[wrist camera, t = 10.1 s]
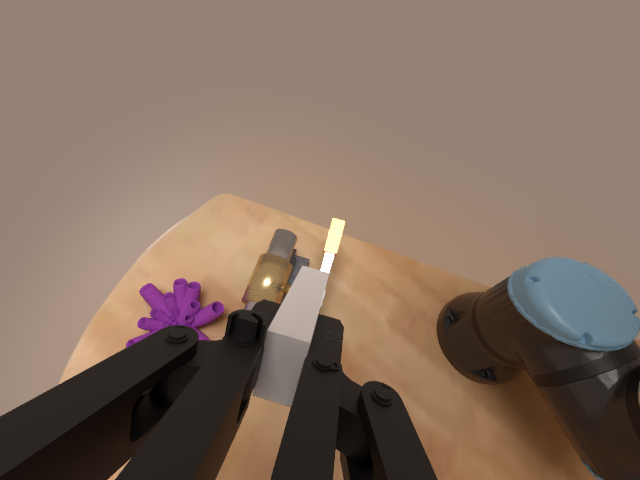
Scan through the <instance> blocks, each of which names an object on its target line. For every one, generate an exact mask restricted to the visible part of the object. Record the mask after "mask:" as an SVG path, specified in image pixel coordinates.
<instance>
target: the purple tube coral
mask: <svg viewBox="0 0 640 480" xmlns="http://www.w3.org/2000/svg"><path fill="white" fill-rule="evenodd" d="M173 289H174V294H173V293H171V292H168V293H166V294H164V295H163V294H162V293H161V292H160V291H159V290H158V289H157V288H156V287H155V286H154V285H153V284H151V283H149V284H146V285H145V286H143V287H142V288H141V289H140V291H139V292H140V294H141V296H142V297H143V298H144V300H145V301H146V302H147V303H148V304H149V305H150V307H151V308H152V310H151V312H150V316H151V317H152V318H146V317H143V318H141V319H140V320H139V321H138V324H137V325H138V327H139V328H141V329H144V330H148V331H151V332H149V333H147V334H144V335H141V336H139V337H136V338H133V339H130V340H129V341H128V342H127V344H126V348H127V347H129V346H131V345H133V344H135V343H136V342H138V341H140V340H142V339H144V338H146V337H147V336H149V335H151V334H153V333H155V332H157V331H159V330H160V329H162V328H165V327H168V326H173V325H185V326H188V327H191V328H193V329H194V330H196V331H197V333H198V335H199V339H198V340H208V341H210V340H209V339H208V337H206V336H205V335H204V334H203V333H202V332H200V331H199V330H198V329H196V327H200V326H202V325H205V324H208V323H210V322H212V321H214V320H215V319H217V318H218V317H219V316H220V315H221V314H222V313H223V312H224V306H223V304H222V303H221V302H218V301H217V302H213V303H211V304H210V305H208V306H206V307H204V308H202V309H200V307H201V304H200V302H199V301H198V300H199V297H200V291H201V286H200V284H199V283H198V282H190V283H189V284H188V283H187V281H186V279H183V278H180V279H177V280H175V281H174V284H173Z"/></svg>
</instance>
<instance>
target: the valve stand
mask: <svg viewBox="0 0 640 480" xmlns="http://www.w3.org/2000/svg"><path fill="white" fill-rule="evenodd" d="M296 242H297V236H296V235H295V234H294V233H292V232H290V231H288V230H285V229H277V230H276V231H275V233H274V235H273V238H272V240H271V243H270V245H269V248H268V250H267V253H266V254H261V255H260V257H259V259H258V261H257V264H256V266H255V269H254V271H253V274H252V276H251V279H250V281H249V284H248V286H247V288H246V291H245V293H244V296H243V298H242V303H243V304H245V308H244V310H252V308H253V306H254V305H255V304H256V303H257V302H259V301H261V300H263V299H265V300H269V301H272V302H276V303H279V304H282V302H283V301H284V299H285V297H286V295H287V293H288V291H289V289H290V288H291V286H292V284H293V282H294V280H295V278H296V277H297V275H298V273H299V271H300V269H301V267H302V266H306V267H308V265H309V260H310V259H307V258H303V257H300V256H296V251H297V250H296V249H294V247H295V244H296Z"/></svg>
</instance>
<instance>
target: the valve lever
mask: <svg viewBox="0 0 640 480" xmlns="http://www.w3.org/2000/svg"><path fill="white" fill-rule="evenodd" d="M344 224H345V221H343V220H339V219H335V218H333V220H332V224H331V227H330V231H329V234H328V238H327V241H326V245H325V249H324V253H325V256H324V259H323V263H322V267H321V271H324V272H328V273H329V272H330V268H331V264H332V261H333V257H334V256H336V253H337V250H338V246H339V242H340V238H341V235H342V231H343V227H344ZM324 295H325V291H324ZM324 295H323V299H324ZM323 299H322V302H323ZM322 302H321V306H322ZM321 306H320V308H321Z"/></svg>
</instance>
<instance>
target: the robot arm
mask: <svg viewBox="0 0 640 480" xmlns="http://www.w3.org/2000/svg"><path fill="white" fill-rule="evenodd" d="M328 277H329V273H328V272H324V271H321V270H317V269H313V268H310V267H306V266H302V267H301V269H300V271H299V273H298V275H297V277H296V278H295V280H294V282H293V284H292V286H291V288H290V289H289V291H288V293H287V295H286V297H285V299H284V301H283V302H282V304H279V303H276V302H272V301H269V300H265V299H263V300H261V301H259V302H257V303H256V304H255V305H254V306H253V308H252V310H237V311H234V312H232V313H230V314H229V316H228V321H227V326H226V332H225V336H224V337H223V339H222V340H217V341H208V340H198V339H199V335H198V333H197V331H196V330H194V329H193V328H191V327H188V326H185V325H173V326H168V327H165V328H162V329H160V330H159V331H157V332H155V333H153V334H151V335H149V336H147V337H146V338H144V339H142V340H140V341H138V342H136V343H135V344H133V345H131V346H129V347H127V348H125V349H124V350H122V351H120V352H118V353H116V354H114V355H113V356H111V357H109V358H107V359H105V360H103V361H102V362H100V363H98V364H96V365H94V366H92V367H91V368H89V369H87V370H85V371H83V372H81V373H79V374H78V375H76V376H74V377H72V378H70V379H68V380H67V381H65V382H63V383H61V384H59V385H57V386H56V387H54V388H52V389H50V390H48V391H46V392H45V393H43V394H41V395H39V396H37V397H35V398H34V399H32V400H30V401H28V402H26V403H24V404H23V405H21V406H19V407H17V408H15V409H13V410H12V411H10V412H8V413H6V414H4V415H2V416H1V417H0V480H107V479H109V478H110V477H111V476H112V475H113V474H114V473H115V472H116V471H117V470H118V469H120V468H121V467H122V466H123V465H124V464H125V463H126V462H127V461H128V460H129V459H130V458H131V459H130V461H129V462H128V463H127V465H126V466H125V467H124V469H123V470H122V471H121V473H120V474H119V475H118V477H117V478H116V479H115V480H215V479H216V477H217V475H218V473H219V470H220V468H221V466H222V464H223V462H224V459H225V457H226V455H227V453H228V450H229V448H230V446H231V444H232V442H233V439H234V437H235V435H236V433H237V430H238V428H239V426H240V424H241V421H242V419H243V417H244V415H245V413H246V410H247V408H248V405H249V400H250V396H251V393H252V391H253V389H254V392H253V396H256V397H260V398H263V399H266V400H269V401H273V402H276V403H279V404H282V405H286V406H289V407H291V409H290V413H289V416H288V420H287V423H286V427H285V431H284V434H283V438H282V441H281V445H280V448H279V452H278V455H277V459H276V462H275V466H274V469H273V473H272V477H271V480H333V471H334V460H335V449H337V450H338V451H340V460H341V466H342V472H343V478H344V480H438V479H437V477H436V475H435V473H434V470H433V468H432V466H431V464H430V461H429V459H428V457H427V455H426V453H425V450H424V448H423V446H422V444H421V441H420V439H419V437H418V435H417V432H416V430H415V428H414V426H413V423H412V421H411V419H410V417H409V415H408V412H407V410H406V408H405V406H404V403H403V401H402V399H401V397H400V396H399V394H398V393H397V392H396V391H395V390H394V389H393V388H391V387H390V386H388V385H386V384H384V383H381V382H377V381H369V382H367V383H365V384H364V385H363V387H362V386H360V385H358V384H356V383H355V382H353V381H352V380H350V379H349V378H348V377H347V376H346V375H345V374H344V372H343V371H342V365H341V364H340V362H341V352H342V341H343V331H344V327H343V325H342V323H341V321H340V320H338V319H334V318H331V317H327V316H324V315H320V314H319V310H320V306H321V302H322V299H323V295H324V291H325V288H326V284H327V280H328ZM636 312H637V308H636V306H635V304H634V302H633V300H632V299H631V297H630V296H629V295H628V293H627V292H626V291H625V290H624V289H623V288H622V287H621V286H620V285H619V284H618V283H617V282H616V281H615V280H614V279H613V278H611V277H610V276H609V275H607V274H606V273H604V272H602V271H601V270H599V269H597V268H596V267H594V266H591V265H589V264H587V263H583V262H578V261H576V260H574V259H570V258H564V257H551V258H545V259H541V260H538V261H536V262H534V263H532V264H530V265H528V266H525V267H522V268H520V269H518V270H516V271H515V272H514V273H513V274H512V275H511V276H509V277H508V278H506V279H505V280H503V281H502V282H500V283H498V284H497V285H495V286H494V287H492V288H490V289H489V290H487V291H486V292H472V293H466V294H462V295H460V296H458V297H456V298H454V299H453V300H451V301H450V302H449V303H447V304H446V305H445V307H444V308H443V309H442V311H441V313H440V315H439V318H438V324H437V333H438V339H439V343H440V346H441V348H442V350H443V352H444V354H445V356H446V357H447V359H448V360H449V362H450V363H451V364H452V365H453V366H454V367H455V368H456V369H457V370H458V371H459V372H460V373H462V374H463V375H465V376H466V377H468V378H470V379H472V380H474V381H477V382H480V383H485V384H498V383H504V382H508V381H511V380H513V379H515V378H517V377H518V376H519V375H520V374H521V373H522V372H523V371H524V370H525V369H526V370H527V372H528V373H529V375H530V376H531V378H532V379H533V381H534V382H535V384H536V386H537V388H538V389H539V391H540V392H541V394H542V396H543V397H544V399H545V401H546V402H547V404H548V406H549V407H550V409H551V410H552V412H553V414H554V415H555V417H556V419H557V420H558V422H559V424H560V425H561V427H562V428H563V430H564V432H565V433H566V435H567V437H568V438H569V440H570V442H571V443H572V445H573V446H574V448H575V450H576V451H577V453H578V455H579V456H580V459H581V461H582V462H583V464H584V465H585V467H586V468H587V469H588V470H589V471H590V472H591V473H592V474H593V476H594V477H595V478H596V480H640V347H639V346H638V345H637V344H636V342H635V341H634V339H635V338H636V337H637V335H638V333H639V330H640V319H639V318H638V317H636V316H635V315H634V314H635V313H636Z"/></svg>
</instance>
